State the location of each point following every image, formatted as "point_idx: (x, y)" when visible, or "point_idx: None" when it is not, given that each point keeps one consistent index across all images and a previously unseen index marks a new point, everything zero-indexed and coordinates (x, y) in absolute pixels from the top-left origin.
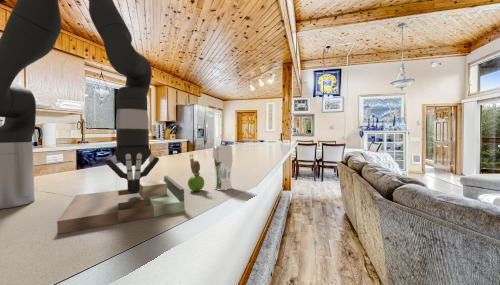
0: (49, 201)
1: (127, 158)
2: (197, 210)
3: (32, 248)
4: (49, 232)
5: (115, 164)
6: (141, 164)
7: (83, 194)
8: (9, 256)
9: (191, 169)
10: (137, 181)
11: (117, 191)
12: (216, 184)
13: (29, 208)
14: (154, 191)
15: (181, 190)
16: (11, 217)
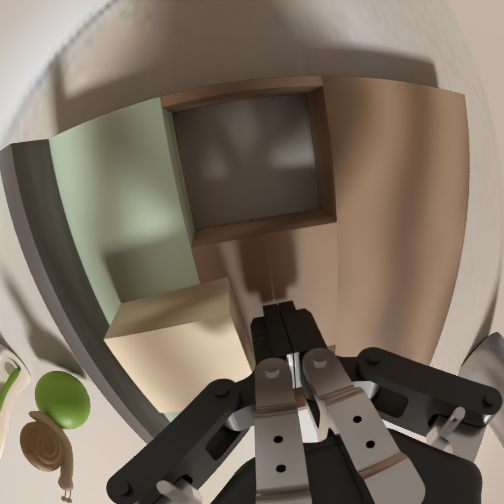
0: (444, 370)
1: (398, 473)
2: None
3: (447, 42)
4: None
5: (437, 416)
6: (253, 460)
7: None
8: (460, 34)
9: (70, 452)
10: (268, 355)
11: None
12: (12, 371)
13: (472, 331)
14: (170, 303)
15: (9, 147)
16: (495, 281)
